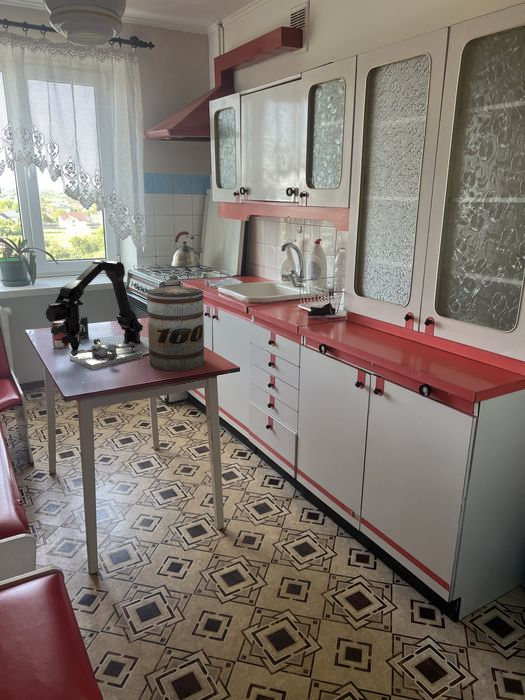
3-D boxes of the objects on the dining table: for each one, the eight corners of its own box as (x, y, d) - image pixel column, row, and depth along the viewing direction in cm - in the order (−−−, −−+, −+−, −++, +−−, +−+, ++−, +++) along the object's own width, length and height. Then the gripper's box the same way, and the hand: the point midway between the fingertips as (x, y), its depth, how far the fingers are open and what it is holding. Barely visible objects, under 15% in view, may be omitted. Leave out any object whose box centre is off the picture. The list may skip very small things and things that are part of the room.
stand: (119, 348, 238) (119, 343, 238) (142, 357, 227) (142, 351, 226) (69, 359, 222) (69, 353, 221) (92, 369, 210) (91, 363, 209)
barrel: (181, 375, 206) (180, 299, 197) (138, 365, 216) (134, 293, 208) (214, 360, 225) (214, 290, 216) (172, 351, 235) (171, 285, 226)
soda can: (64, 349, 234) (61, 323, 231) (50, 348, 236) (47, 322, 232) (72, 345, 241) (70, 319, 237) (58, 344, 242) (56, 318, 238)
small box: (89, 337, 254) (88, 316, 251) (78, 340, 248) (77, 319, 245) (75, 334, 259) (73, 313, 256) (64, 337, 254) (62, 315, 251)
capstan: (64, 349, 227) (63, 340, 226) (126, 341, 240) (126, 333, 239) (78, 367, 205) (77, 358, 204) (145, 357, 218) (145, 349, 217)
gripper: (56, 311, 222) (59, 347, 227) (46, 323, 204) (49, 361, 209) (84, 311, 224) (86, 346, 228) (75, 322, 206) (79, 360, 211)
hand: (75, 353), depth 219 cm, fingers closed
